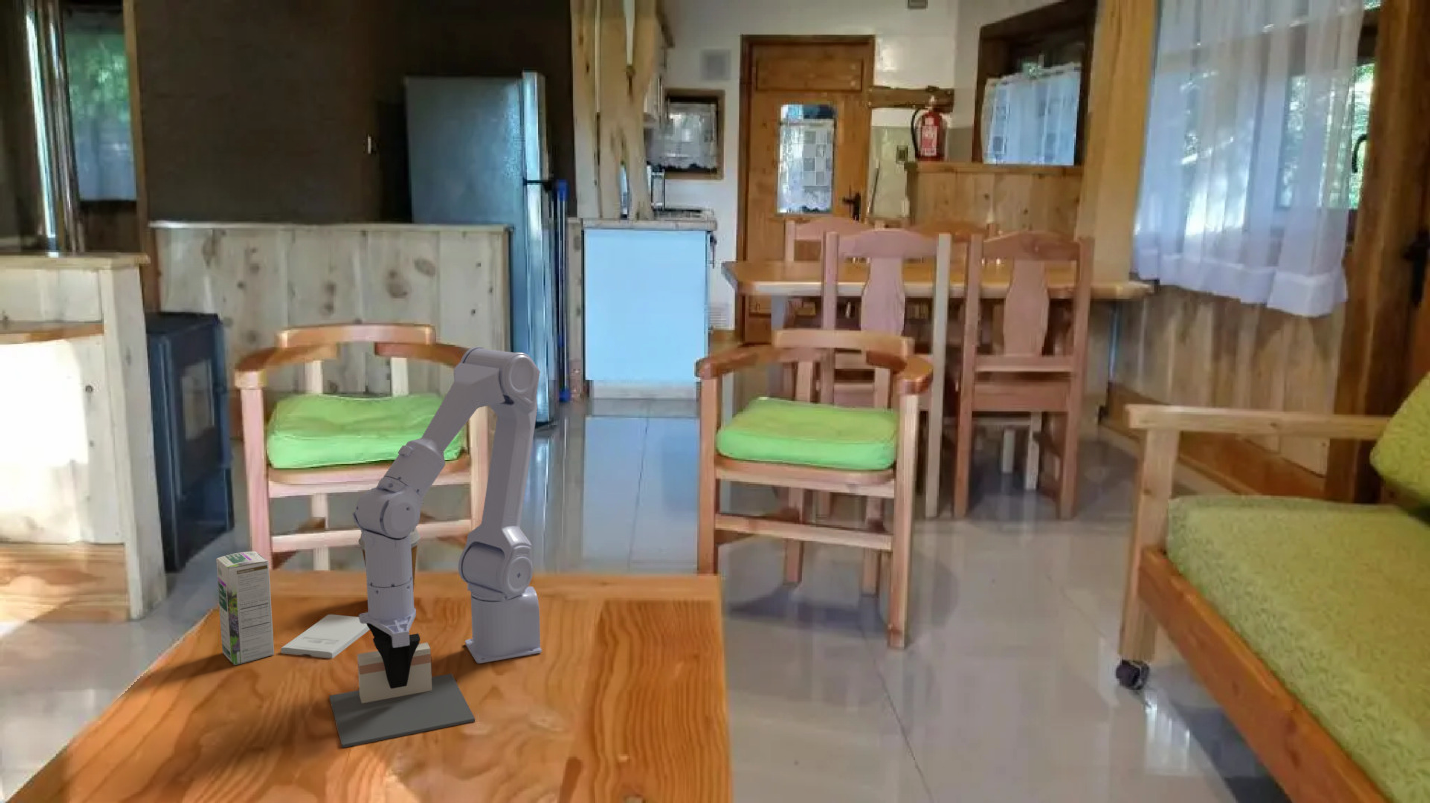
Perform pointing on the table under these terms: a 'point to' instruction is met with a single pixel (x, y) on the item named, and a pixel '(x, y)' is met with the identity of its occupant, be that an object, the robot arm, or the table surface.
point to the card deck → (375, 678)
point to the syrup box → (245, 607)
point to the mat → (399, 713)
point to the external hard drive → (327, 637)
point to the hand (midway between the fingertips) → (394, 677)
